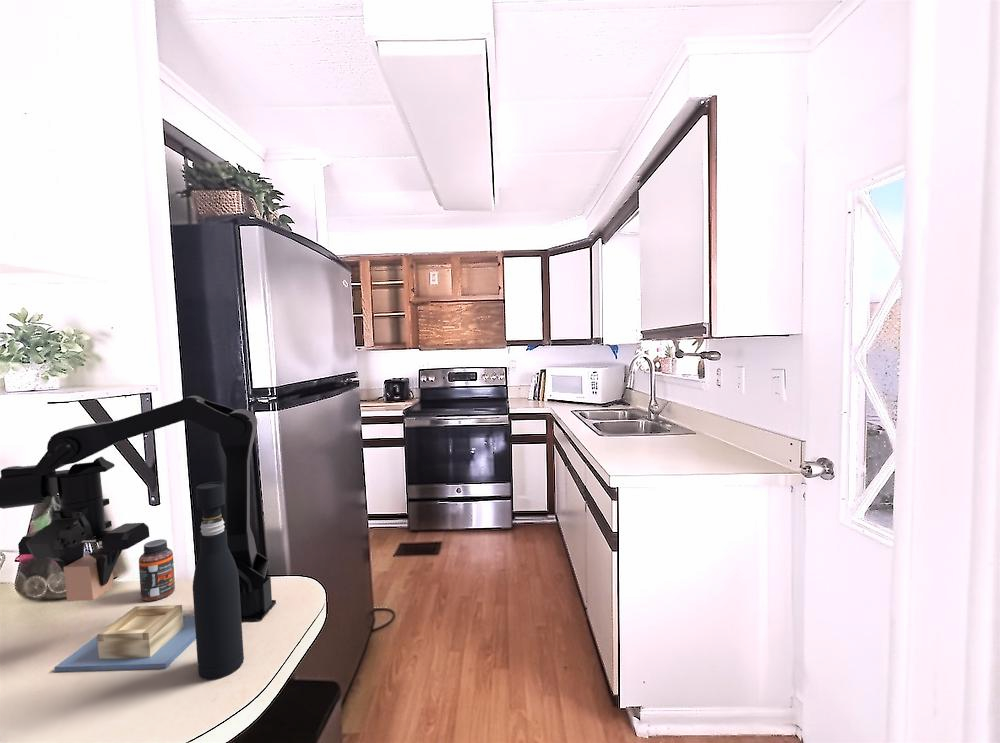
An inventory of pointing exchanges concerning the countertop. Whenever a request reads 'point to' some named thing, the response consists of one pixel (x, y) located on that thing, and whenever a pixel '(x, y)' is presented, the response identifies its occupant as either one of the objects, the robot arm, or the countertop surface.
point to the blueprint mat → (162, 658)
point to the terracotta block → (84, 580)
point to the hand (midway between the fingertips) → (90, 585)
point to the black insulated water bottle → (216, 592)
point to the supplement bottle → (156, 571)
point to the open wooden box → (140, 632)
